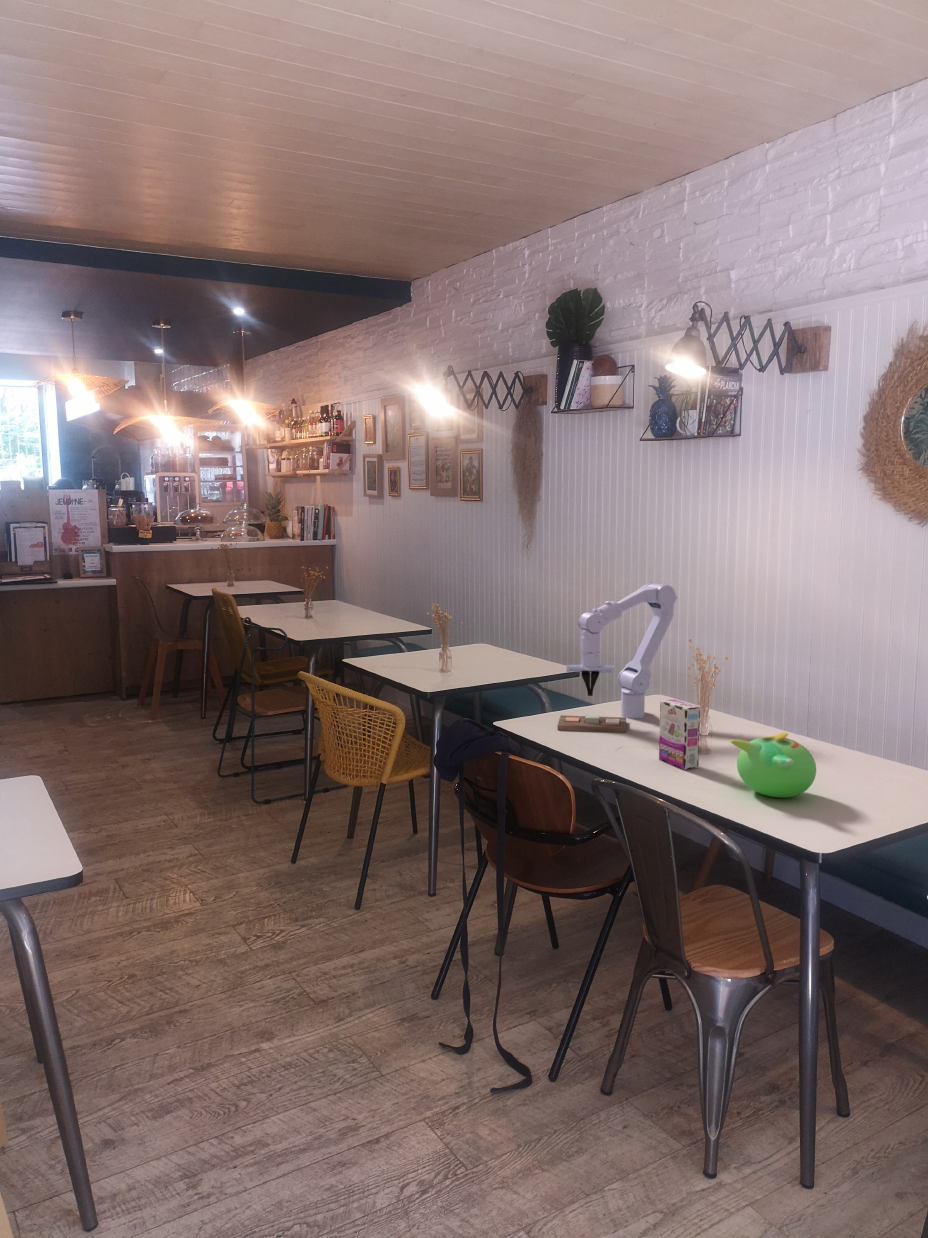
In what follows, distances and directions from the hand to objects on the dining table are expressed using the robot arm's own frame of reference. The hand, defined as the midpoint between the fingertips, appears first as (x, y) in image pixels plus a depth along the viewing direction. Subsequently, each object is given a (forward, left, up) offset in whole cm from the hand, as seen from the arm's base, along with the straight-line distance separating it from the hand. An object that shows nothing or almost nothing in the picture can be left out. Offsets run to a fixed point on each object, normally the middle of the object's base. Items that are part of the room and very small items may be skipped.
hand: (590, 695), depth 281 cm
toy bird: (+59, +46, -10) cm, 75 cm away
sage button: (+7, +1, -8) cm, 11 cm away
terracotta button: (+7, -5, -9) cm, 12 cm away
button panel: (+7, +1, -9) cm, 12 cm away
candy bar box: (+37, +25, -10) cm, 46 cm away
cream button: (+7, +7, -9) cm, 13 cm away
